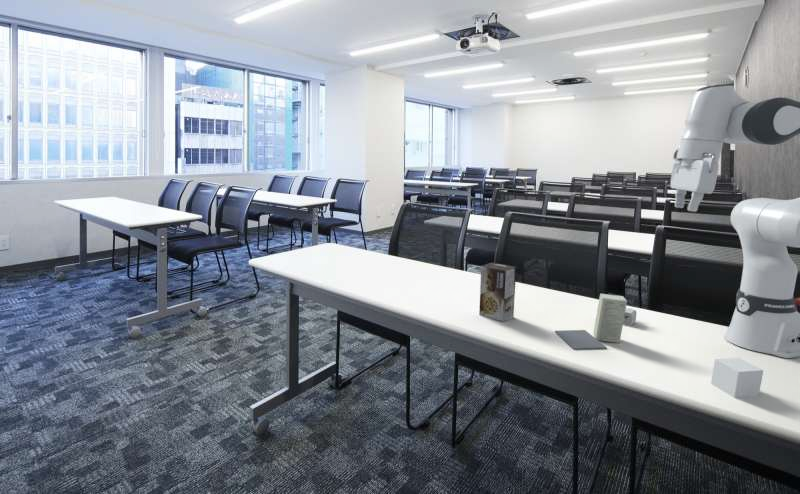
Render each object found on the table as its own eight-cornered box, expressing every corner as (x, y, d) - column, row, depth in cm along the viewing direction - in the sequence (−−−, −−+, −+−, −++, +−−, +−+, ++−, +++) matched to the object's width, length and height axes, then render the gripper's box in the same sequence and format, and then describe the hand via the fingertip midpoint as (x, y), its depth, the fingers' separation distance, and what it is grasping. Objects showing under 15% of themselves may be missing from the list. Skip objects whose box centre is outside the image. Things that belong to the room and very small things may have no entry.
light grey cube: (758, 396, 97) (763, 370, 95) (734, 398, 96) (738, 372, 94) (734, 382, 102) (738, 357, 101) (710, 384, 102) (714, 359, 100)
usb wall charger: (616, 323, 138) (618, 310, 137) (623, 317, 143) (625, 305, 142) (631, 326, 135) (632, 313, 134) (637, 320, 140) (639, 308, 140)
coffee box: (514, 316, 142) (517, 266, 139) (503, 322, 137) (506, 270, 134) (489, 309, 148) (491, 261, 145) (478, 314, 144) (480, 265, 140)
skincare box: (616, 337, 127) (624, 296, 124) (619, 343, 122) (628, 301, 120) (592, 333, 128) (599, 292, 125) (595, 339, 124) (602, 297, 121)
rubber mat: (584, 331, 131) (584, 330, 131) (606, 348, 119) (606, 347, 119) (554, 331, 130) (554, 330, 130) (573, 349, 118) (573, 348, 118)
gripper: (731, 154, 101) (715, 215, 104) (697, 155, 120) (685, 207, 123) (700, 150, 102) (685, 211, 105) (671, 153, 122) (659, 204, 125)
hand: (685, 209), depth 114 cm, fingers open, 8 cm apart
